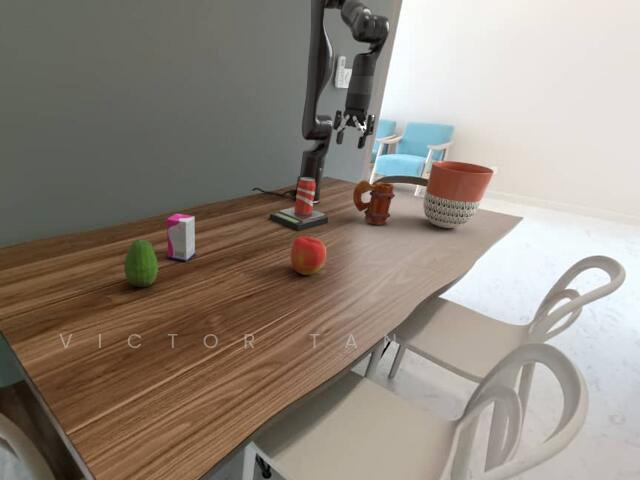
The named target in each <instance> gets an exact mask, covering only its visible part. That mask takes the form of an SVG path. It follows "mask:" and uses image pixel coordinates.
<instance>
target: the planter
mask: <svg viewBox="0 0 640 480" xmlns="http://www.w3.org/2000/svg"><path fill="white" fill-rule="evenodd" d="M494 173H495V171H494V170H493V169H492V168H489V167H487V166H483V165H479V164H475V163H470V162H463V161H453V160H437V161H433V162H432V163H431V167H430V171H429V175H428V180H427V184H426V188H425V192H424V196H423V205H422V207H423V213H424V215H425V218H426V219H427V221H428V222H429V223H431V224H432V225H434V226H436V227H439V228H443V229H455V228H458V227H460V226H463V225H464V224H466V223H468V222H469V221H470V220H471V219H472V218H473V217H474V216H475V214H476V212H477V211H478V210H479V208H480V205H481V202H482V200H483V198H484V196H485V194H486V191H487V189H488V186H489V184H490V182H491V181H492V177H493V175H494Z"/></svg>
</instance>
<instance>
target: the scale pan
mask: <svg viewBox="0 0 640 480" xmlns="http://www.w3.org/2000/svg"><path fill="white" fill-rule="evenodd" d="M278 212H279V213H281V214H283V215H286V216H288V217H291V218H293V219H296V220H298V221H301V222H307V221H310V220H314V219H318V218H322V217H325V216H326V214H325V213H322V212H320V211H317V210H316V209H315V210H314V209H312V212H311V213H309V214H307V215H302V214H298V213H297V212H296V211H295V206H293V207H289V208H285V209H280V210H278Z"/></svg>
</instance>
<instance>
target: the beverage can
mask: <svg viewBox="0 0 640 480" xmlns="http://www.w3.org/2000/svg"><path fill="white" fill-rule="evenodd" d="M315 187H316V184H315V179H313V178H308V177H302V178H300V181H299V182H298V188H297V196H296V199H295V204H294V207H295V211H296V212H297V213H298V214H302V215H307V214H309V213H311V212H312V210H313V206H314V204H313V200H314V194H315Z"/></svg>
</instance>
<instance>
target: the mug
mask: <svg viewBox="0 0 640 480" xmlns="http://www.w3.org/2000/svg"><path fill="white" fill-rule="evenodd" d="M394 188H395V185H394V184H393V183H390V182H386V183H385V182H381V181H379V182H375V184H371V183H370V182H369V181H368V180H367V179H363V180H361V181H360V182H358V183H357V184H356V186H355V187H354V189H353V194H352V195H353V196H352V199H353V203H354V206H355V208H356V210H358V212H363V213H364V215H365V216H364V220H365V221H366V222H368V223H370V224H372V225H376V226H380V225H383V224H385V223H386V222H387V220H388V218H390V217H391V214H390V213H389V210H390V208H391V207H390V206H391V203H392V200H393V198H395V196H396V194H395V193H394ZM369 191H370V192H369ZM367 192H369V195H370V201H367V202H364V201H362V195H363V194H365V193H367Z"/></svg>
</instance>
